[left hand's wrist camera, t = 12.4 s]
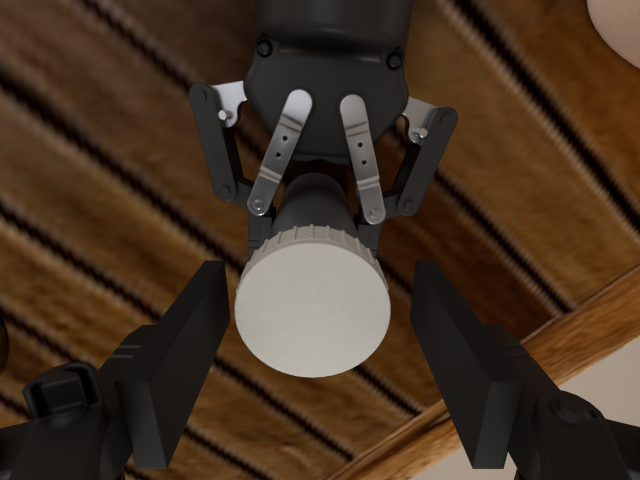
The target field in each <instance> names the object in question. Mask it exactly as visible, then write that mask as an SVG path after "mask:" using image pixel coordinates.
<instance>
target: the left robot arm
mask: <svg viewBox="0 0 640 480" xmlns="http://www.w3.org/2000/svg"><path fill="white" fill-rule="evenodd" d="M229 322H230V310H229V301H228V291H227V282H226V272H225V262H224V261H205V262H204V263H203V264H202V266H201V267H200V268H199V270H198V271H197V272H196V273H195V275H194V276H193V277H192V279H191V280H190V281H189V283H188V284H187V285H186V287H185V288H184V289H183V291H182V292H181V293H180V295H179V296H178V297H177V299H176V300H175V301H174V303H173V304H172V305H171V307H170V308H169V309H168V311H167V312H166V313H165V314H164V316H163V317H162V318H161V320H160V321H159V322H158V324H157V325H142V326H141V327H139V328H138V329H136V330H135V331H133V332H132V333H130V334H129V335H128V336H127V337H126V338H125V339H124V340H123V342H122V343H121V344H120V345H119V348H117V349H116V350H115V351H114V352H113V353H112V355H111V357H110V358H108V359H107V360H106V362H105V363H104V364H103V365H102V366H101V368H100V369H99V370H98V371H97V372H96V370H95V367H94V366H92V365H91V364H90V363H85V362H72V363H66V364H63V365H60V366H56V367H53V368H51V369H49V370H47V371H45V372H43V373H41V374H40V375H38V376H37V377H36V378H34V379H33V380H32V381H30V382H29V383H28V384H27V386H26V387H25V388H24V389H23V391H22V393H23V395H24V398H25V401H26V403H27V406H28V409H29V411H30V414H31V416H32V419H33V421H31V422H26V423H22V424H18V425H14V426H10V427H5V428H1V429H0V480H125V474H124V470H123V469H124V467H125V465H126V463H127V461H128V459H129V458H130V456H131V454H132V453H133V457H134V461H135V465H136V469H167V468H168V466H169V463H170V461H171V459H172V456H173V454H174V451H175V449H176V447H177V444H178V442H179V440H180V437H181V435H182V433H183V430H184V428H185V426H186V423H187V421H188V419H189V416H190V414H191V411H192V409H193V407H194V404H195V402H196V400H197V397H198V395H199V393H200V390H201V388H202V386H203V383H204V381H205V378H206V376H207V374H208V371H209V369H210V367H211V364H212V362H213V360H214V357H215V355H216V353H217V350H218V348H219V345H220V343H221V341H222V338H223V336H224V334H225V331H226V329H227V327H228V324H229ZM410 322H411V324H412V327H413V329H414V331H415V334H416V336H417V338H418V341H419V343H420V345H421V348H422V350H423V353H424V355H425V357H426V360H427V362H428V364H429V367H430V369H431V371H432V374H433V376H434V378H435V381H436V383H437V386H438V388H439V390H440V393H441V395H442V397H443V400H444V402H445V404H446V407H447V409H448V411H449V414H450V416H451V419H452V421H453V423H454V426H455V428H456V430H457V433H458V435H459V437H460V440H461V442H462V444H463V447H464V449H465V451H466V454H467V456H468V459H469V461H470V463H471V466H472V468H473V469H503V468H504V465H505V461H506V457H507V453H508V452H509V454H510V456H511V458H512V459H513V461H514V463H515V465H516V467H517V470H516V474H515V477H514V480H640V427H637V426H633V425H628V424H624V423H620V422H616V421H612V420H608V419H605V418H604V416H603V415H602V413H601V412H600V411H599V410H598V409H597V408H596V407H594V406H593V405H592V404H591V403H590V402H588V401H586V400H584V399H583V398H581V397H579V396H577V395H575V394H572V393H569V392H566V391H562V390H560V389H559V388H558V387H557V386H556V385H555V383H554V382H553V381H552V380H551V379H550V378H549V376H548V375H547V374H546V373H545V372H544V371H543V369H542V368H541V367H540V366H539V365H538V364H537V362H536V361H535V360H534V359H533V358H532V357H530V354H529V353H528V352H527V351H526V350H525V348H524V347H522V345H521V344H520V342H519V341H518V340H517V339H516V338H515V337H514V335H513V334H512V333H510V332H509V331H507V330H506V329H504V328H503V327H501V326H500V325H498V324H482V322H481V321H480V320H479V318H478V317H477V316H476V314H475V313H474V312H473V311H472V309H471V308H470V307H469V305H468V304H467V303H466V301H465V300H464V299H463V297H462V296H461V295H460V293H459V292H458V291H457V289H456V288H455V287H454V285H453V284H452V283H451V281H450V280H449V279H448V277H447V276H446V275H445V273H444V272H443V271H442V270H441V268H440V267H439V266H438V264H437V263H436V262H435V261H416V262H415V272H414V282H413V291H412V301H411V310H410ZM7 354H8V345H7V339H6V335H5V331H4V329H3V326H2V324H1V322H0V374H1V373H2V371H3V369H4V367H5V364H6V360H7Z"/></svg>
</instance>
